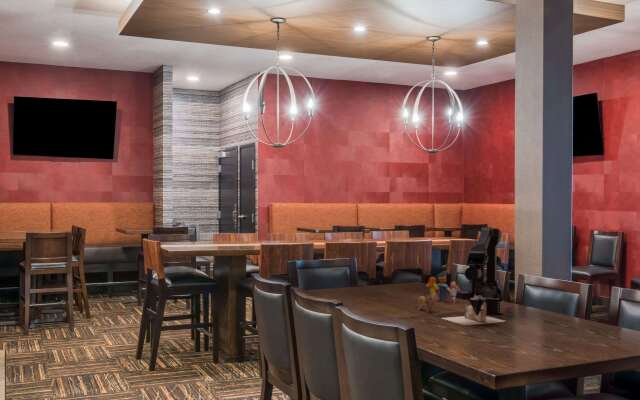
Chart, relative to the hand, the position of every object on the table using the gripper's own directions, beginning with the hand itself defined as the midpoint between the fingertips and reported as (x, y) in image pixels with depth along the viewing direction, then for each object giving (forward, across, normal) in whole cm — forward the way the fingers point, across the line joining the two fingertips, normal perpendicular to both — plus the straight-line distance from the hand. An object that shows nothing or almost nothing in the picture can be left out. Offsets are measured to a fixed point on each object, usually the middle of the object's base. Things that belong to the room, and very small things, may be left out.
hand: (477, 315), depth 297 cm
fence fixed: (+3, +8, +11) cm, 14 cm away
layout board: (+3, +2, +6) cm, 7 cm away
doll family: (+2, +19, +57) cm, 60 cm away
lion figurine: (+3, -3, +35) cm, 35 cm away
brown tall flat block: (+3, +2, +5) cm, 6 cm away
